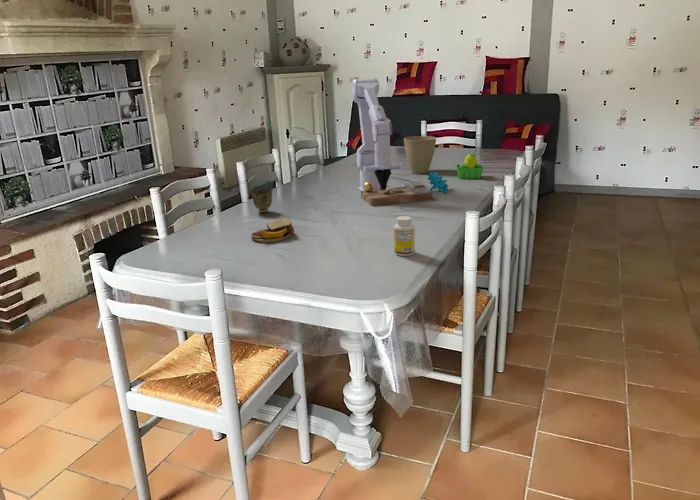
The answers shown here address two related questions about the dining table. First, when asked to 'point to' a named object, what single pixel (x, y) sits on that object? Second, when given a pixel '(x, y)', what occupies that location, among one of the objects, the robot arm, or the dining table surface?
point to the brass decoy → (368, 186)
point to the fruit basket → (470, 168)
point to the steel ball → (387, 190)
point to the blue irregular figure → (437, 182)
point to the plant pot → (419, 152)
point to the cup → (262, 200)
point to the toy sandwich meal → (274, 231)
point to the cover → (416, 188)
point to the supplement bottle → (404, 236)
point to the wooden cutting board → (393, 196)
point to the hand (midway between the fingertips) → (383, 189)
